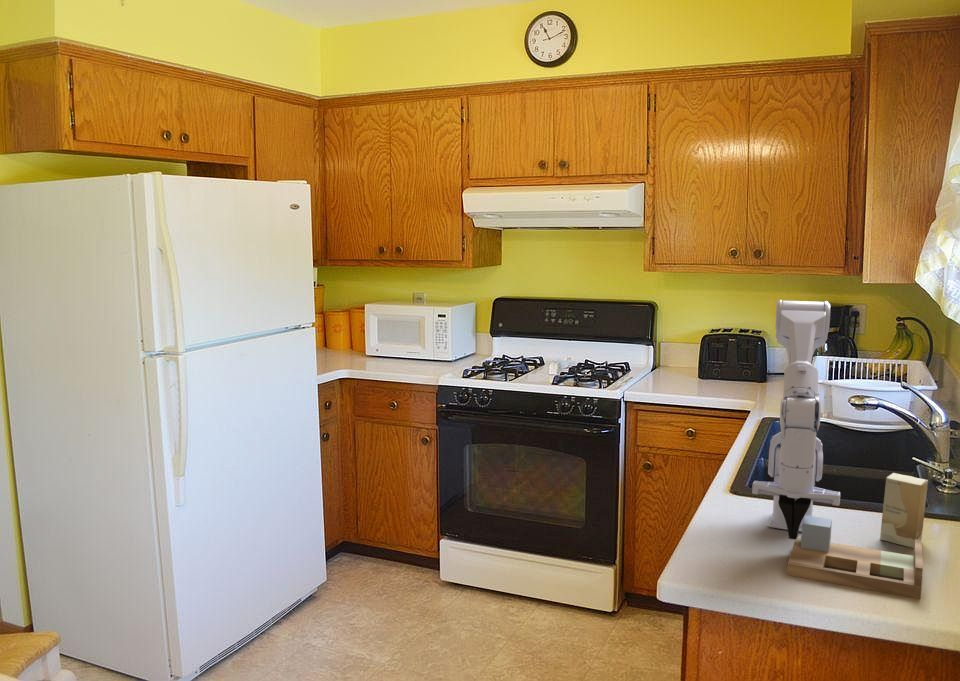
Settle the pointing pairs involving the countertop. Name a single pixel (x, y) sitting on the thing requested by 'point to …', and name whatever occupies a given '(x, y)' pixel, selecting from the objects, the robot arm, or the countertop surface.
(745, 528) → the countertop surface
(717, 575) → the countertop surface
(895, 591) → the board
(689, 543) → the countertop surface
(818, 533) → the block
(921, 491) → the skincare box
